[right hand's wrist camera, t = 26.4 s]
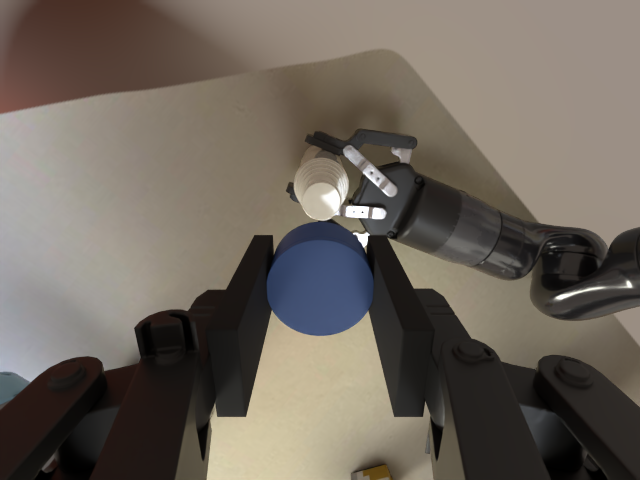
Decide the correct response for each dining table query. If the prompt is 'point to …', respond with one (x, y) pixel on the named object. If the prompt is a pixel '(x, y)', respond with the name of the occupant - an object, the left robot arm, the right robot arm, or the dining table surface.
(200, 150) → the dining table surface
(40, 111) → the dining table surface
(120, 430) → the right robot arm
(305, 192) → the bottle
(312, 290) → the cap
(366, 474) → the toy
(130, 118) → the dining table surface
